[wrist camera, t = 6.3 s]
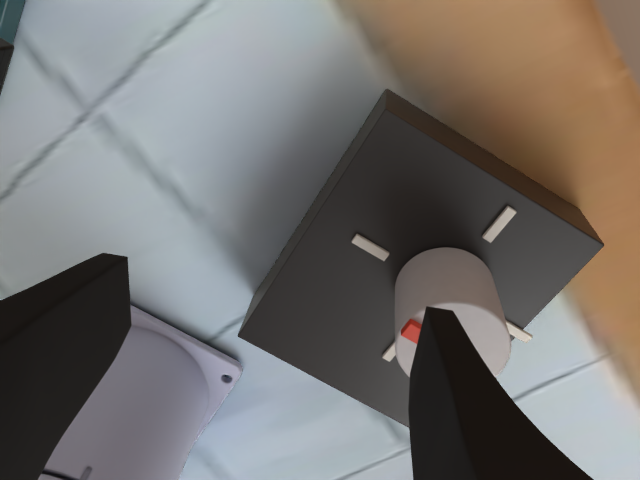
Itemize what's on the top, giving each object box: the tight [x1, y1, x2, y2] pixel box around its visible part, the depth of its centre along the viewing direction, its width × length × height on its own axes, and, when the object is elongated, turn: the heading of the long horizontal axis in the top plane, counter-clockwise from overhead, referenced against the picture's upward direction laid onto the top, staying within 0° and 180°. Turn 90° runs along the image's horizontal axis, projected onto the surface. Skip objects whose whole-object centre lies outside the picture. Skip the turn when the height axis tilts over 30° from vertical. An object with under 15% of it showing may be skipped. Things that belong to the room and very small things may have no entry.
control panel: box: [238, 89, 604, 427], centre depth 23 cm, size 11×9×3 cm
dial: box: [395, 247, 511, 378], centre depth 20 cm, size 4×4×4 cm
